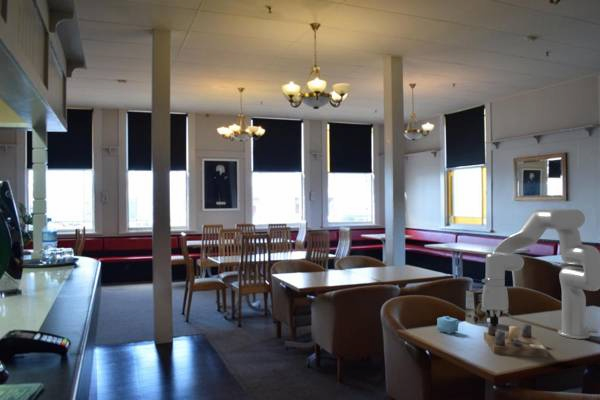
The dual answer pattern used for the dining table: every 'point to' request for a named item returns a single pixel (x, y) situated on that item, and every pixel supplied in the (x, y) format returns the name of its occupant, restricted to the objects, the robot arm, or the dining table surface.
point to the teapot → (447, 324)
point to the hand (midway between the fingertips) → (494, 325)
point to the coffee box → (475, 307)
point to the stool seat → (506, 346)
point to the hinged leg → (514, 334)
